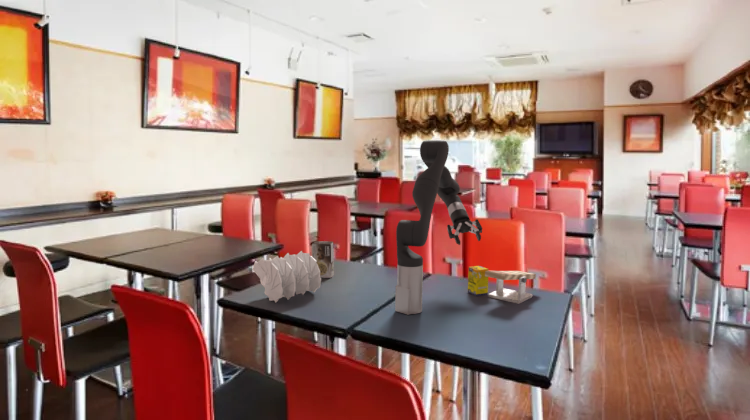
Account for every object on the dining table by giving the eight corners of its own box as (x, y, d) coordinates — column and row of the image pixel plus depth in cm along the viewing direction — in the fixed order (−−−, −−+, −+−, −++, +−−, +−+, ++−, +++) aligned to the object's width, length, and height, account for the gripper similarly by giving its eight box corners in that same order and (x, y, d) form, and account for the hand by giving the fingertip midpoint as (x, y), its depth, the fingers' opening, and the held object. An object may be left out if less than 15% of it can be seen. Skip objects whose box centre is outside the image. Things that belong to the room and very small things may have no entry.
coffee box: (334, 274, 222) (334, 241, 220) (331, 278, 215) (331, 243, 214) (315, 274, 223) (315, 240, 221) (312, 277, 216) (311, 243, 214)
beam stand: (518, 303, 179) (519, 281, 178) (488, 296, 188) (489, 275, 187) (532, 297, 188) (533, 275, 187) (502, 290, 197) (503, 269, 196)
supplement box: (467, 292, 194) (468, 266, 193) (479, 290, 196) (479, 265, 195) (476, 296, 188) (476, 270, 187) (488, 294, 191) (488, 268, 190)
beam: (503, 280, 174) (504, 274, 174) (484, 276, 179) (485, 270, 179) (535, 278, 194) (535, 273, 194) (517, 275, 200) (518, 270, 200)
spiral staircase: (320, 302, 193) (269, 313, 175) (297, 277, 203) (246, 285, 185) (334, 266, 187) (282, 274, 168) (309, 241, 197) (258, 247, 179)
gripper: (442, 211, 203) (453, 239, 192) (474, 205, 204) (486, 232, 193) (442, 223, 209) (452, 250, 197) (473, 217, 209) (485, 244, 198)
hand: (469, 241), depth 195 cm, fingers open, 8 cm apart
